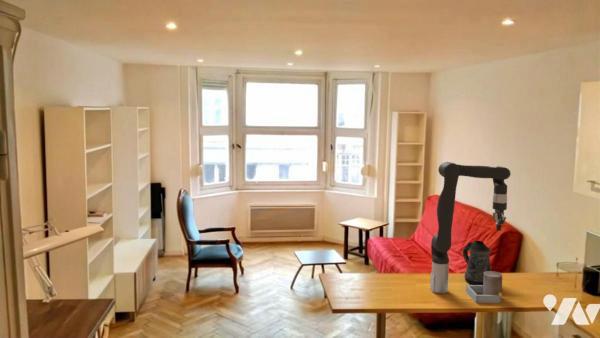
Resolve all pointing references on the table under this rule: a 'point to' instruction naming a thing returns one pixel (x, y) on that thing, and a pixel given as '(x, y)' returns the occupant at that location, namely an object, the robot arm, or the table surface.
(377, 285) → the table surface
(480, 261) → the beer stein
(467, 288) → the tray
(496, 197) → the robot arm
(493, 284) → the pillar candle
